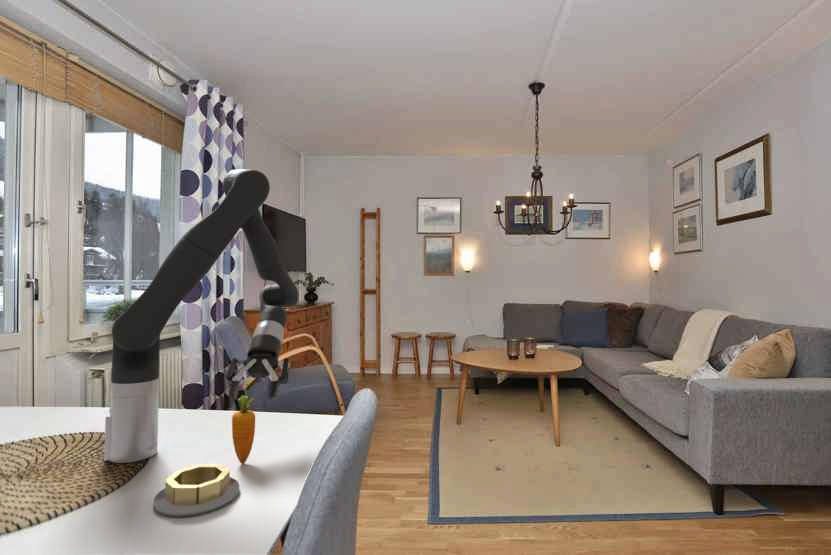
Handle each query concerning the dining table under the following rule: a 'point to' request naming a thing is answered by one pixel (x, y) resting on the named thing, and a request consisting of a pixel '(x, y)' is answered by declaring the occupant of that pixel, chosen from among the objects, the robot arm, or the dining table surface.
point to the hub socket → (196, 491)
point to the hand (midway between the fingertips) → (252, 398)
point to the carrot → (243, 429)
